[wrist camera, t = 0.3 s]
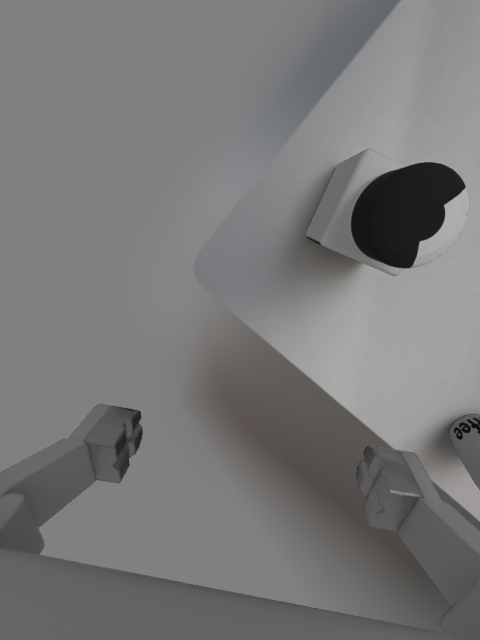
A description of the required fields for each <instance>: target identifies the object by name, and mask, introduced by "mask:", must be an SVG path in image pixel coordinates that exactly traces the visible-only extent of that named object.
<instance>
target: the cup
mask: <svg viewBox="0 0 480 640" xmlns="http://www.w3.org/2000/svg"><path fill="white" fill-rule="evenodd" d="M449 434H450V437H451V440H452V442H453V445H454V447H455V450H456V452H457V454H458V456H459V458H460V459H461V461H462V463H463V464H464V466H465V468H466V469H467V471H468V473H469V474H470V476H471V478H472V479H473V481H474V483H475V484H476V485H477V487H478V488H479V489H480V415H477V414H473V415H467V416H464V417H462V418H460V419H458V420H457V421H456V422H454V424H453V425H452V426H451V428H450V431H449Z"/></svg>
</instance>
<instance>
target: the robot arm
mask: <svg viewBox="0 0 480 640" xmlns="http://www.w3.org/2000/svg"><path fill="white" fill-rule="evenodd" d="M140 419H141V412H140V411H138V410H133V409H128V408H122V407H116V406H110V405H105V404H98V405H96V406H95V407H94V408H93V409H92V410H91V412H90V413H89V414H88V415H87V417H86V418H85V419H84V420H83V421H82V422H81V424H80V425H79V426H78V427H77V428H76V430H75V431H74V432H73V433H72V434H71V436H70V437H69V438H68V439H62V440H60V441H58V442H56V443H55V444H53V445H51V446H49V447H47V448H45V449H43V450H42V451H39V452H38V453H36V454H34V455H32V456H30V457H28V458H27V459H24V460H23V461H21V462H19V463H17V464H15V465H13V466H11V467H9V468H7V469H6V470H4V471H2V472H0V640H480V531H479V530H478V529H477V528H476V527H475V526H473V525H472V524H471V523H470V522H469V521H468V520H466V519H465V518H464V517H463V516H462V515H461V514H460V513H459V512H458V511H457V510H455V509H454V508H453V507H452V506H451V505H450V504H449V503H447V502H443V501H442V500H441V498H440V496H439V494H438V493H437V491H436V489H435V487H434V485H433V483H432V482H431V480H430V478H429V476H428V474H427V472H426V471H425V469H424V467H423V465H422V463H421V462H420V460H419V458H418V456H417V455H416V454H415V453H413V452H406V451H400V450H394V449H387V448H379V447H373V446H367V447H366V448H365V450H364V452H363V454H364V457H365V459H363V460H361V461H360V462H359V465H358V467H357V483H358V487H359V491H360V492H361V493H362V494H363V495H364V497H365V498H366V500H365V503H364V508H365V512H366V515H367V518H368V522H369V525H370V527H375V528H380V529H385V530H390V531H395V532H397V534H398V536H399V537H400V538H401V540H402V541H403V542H404V544H405V545H406V546H407V547H408V549H409V550H410V551H411V553H412V554H413V555H414V557H415V558H416V559H417V561H418V562H419V563H420V565H421V566H422V567H423V569H424V570H425V571H426V573H427V574H428V575H429V577H430V578H431V579H432V581H433V582H434V583H435V584H436V586H437V587H438V588H439V590H440V591H441V592H442V594H443V595H444V596H445V598H446V599H447V600H448V602H449V603H450V604H451V608H450V609H449V610H448V611H446V613H445V614H443V615H442V617H441V619H440V621H439V622H440V625H441V628H442V630H443V633H441V632H436V631H431V630H425V629H420V628H415V627H411V626H405V625H400V624H395V623H389V622H385V621H379V620H374V619H369V618H364V617H359V616H354V615H348V614H343V613H338V612H332V611H328V610H322V609H317V608H312V607H307V606H302V605H296V604H292V603H286V602H281V601H276V600H271V599H265V598H260V597H255V596H250V595H245V594H240V593H235V592H230V591H224V590H219V589H214V588H208V587H204V586H199V585H193V584H188V583H183V582H178V581H173V580H167V579H162V578H156V577H152V576H147V575H141V574H136V573H131V572H126V571H121V570H115V569H110V568H105V567H100V566H94V565H90V564H84V563H79V562H74V561H69V560H64V559H58V558H53V557H48V556H43V555H39V554H40V553H41V551H42V550H43V548H44V540H43V538H42V535H41V533H40V531H39V527H40V526H41V525H43V524H44V523H45V522H46V521H47V520H49V519H50V518H51V517H52V516H54V515H55V514H56V513H57V512H59V511H60V510H61V509H62V508H63V507H65V506H66V505H67V504H68V503H70V502H71V501H72V500H73V499H75V498H76V497H77V496H78V495H79V494H81V493H82V492H83V491H84V490H86V489H87V488H88V487H89V486H91V485H92V484H93V483H94V482H95V481H96V480H101V481H109V482H115V483H120V482H121V481H122V479H123V476H124V475H125V473H126V471H127V469H128V467H129V465H130V464H129V458H130V457H131V456H133V455H134V454H136V452H137V450H138V448H139V446H140V442H141V439H142V427H141V425H140V424H139V421H140Z"/></svg>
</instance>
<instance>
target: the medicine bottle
mask: <svg viewBox="0 0 480 640" xmlns="http://www.w3.org/2000/svg"><path fill="white" fill-rule="evenodd" d="M468 208H469V198H468V192H467V189H466V186H465V184H464V182H463V180H462V179H461V177H460V176H459V175H458V174H457V173H456V172H455V171H454V170H453V169H451V168H449V167H447V166H445V165H442V164H439V163H433V162H425V163H418V164H414V165H410V166H407V165H405V164H402V163H400V162H398V161H396V160H394V159H392V158H390V157H388V156H385V155H383V154H381V153H379V152H377V151H375V150H373V149H369V148H368V149H366V150H364V151H362V152H360V153H358V154H356V155H354V156H353V157H351V158H349V159H347V160H345V161H343V162H341V163H339V164H338V165H337V167H336V169H335V171H334V174H333V176H332V178H331V180H330V182H329V184H328V186H327V189H326V191H325V193H324V195H323V197H322V199H321V202H320V204H319V206H318V208H317V210H316V212H315V215H314V217H313V219H312V221H311V223H310V225H309V227H308V230H307V232H306V235H305V236H306V237H307V238H308V239H310V240H312V241H314V242H316V243H318V244H320V245H322V246H324V247H326V248H328V249H331V250H333V251H336V252H338V253H340V254H343V255H345V256H347V257H350V258H352V259H355V260H357V261H359V262H362V263H364V264H366V265H369V266H371V267H374V268H376V269H378V270H381V271H383V272H385V273H388V274H390V275H393V276H397V275H399V274H400V272H401V271H402V269H403V268H413V267H418V266H421V265H424V264H427V263H429V262H431V261H433V260H435V259H436V258H438V257H439V256H440V255H442V254H443V253H444V252H445V251H446V250H448V249H449V248H450V246H451V245H452V244H453V243H454V242H455V240H456V239H457V238H458V236H459V234H460V233H461V231H462V229H463V227H464V224H465V222H466V218H467V215H468Z"/></svg>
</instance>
